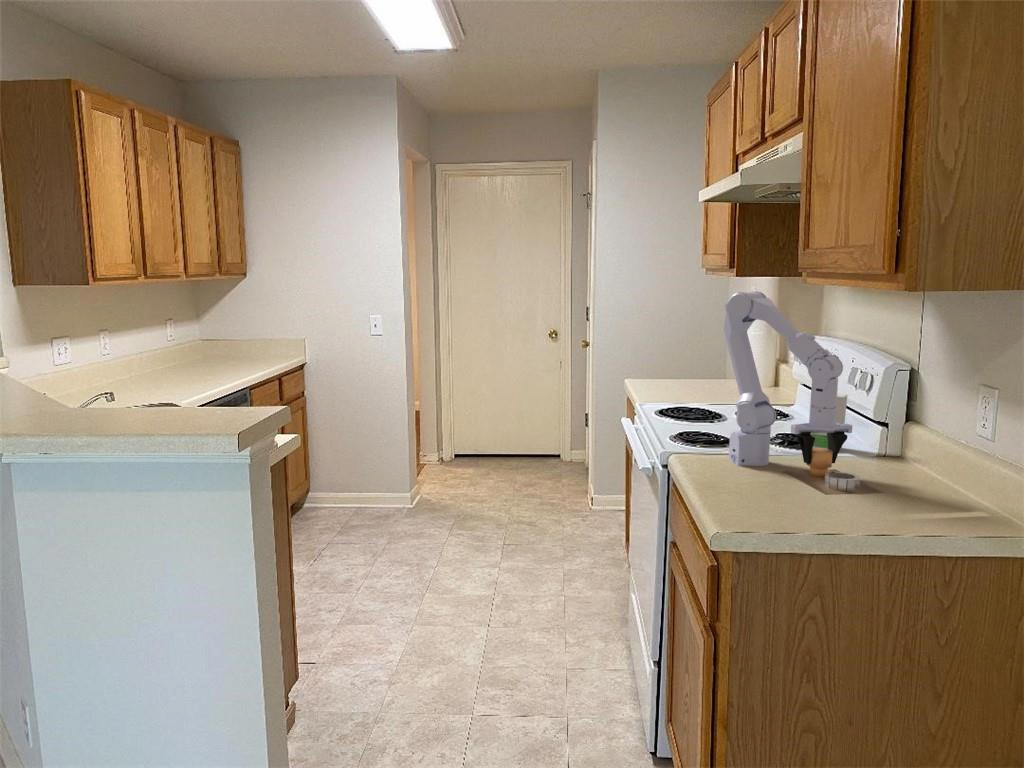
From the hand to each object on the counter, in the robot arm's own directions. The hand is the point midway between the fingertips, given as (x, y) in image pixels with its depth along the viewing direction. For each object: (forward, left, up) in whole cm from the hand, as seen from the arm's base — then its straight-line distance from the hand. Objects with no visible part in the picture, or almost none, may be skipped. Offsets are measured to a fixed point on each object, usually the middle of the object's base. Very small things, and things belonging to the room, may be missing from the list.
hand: (819, 462), depth 184 cm
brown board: (0, -5, -4) cm, 7 cm away
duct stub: (0, -10, -3) cm, 10 cm away
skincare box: (+19, +30, -4) cm, 35 cm away
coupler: (0, 0, -3) cm, 3 cm away
